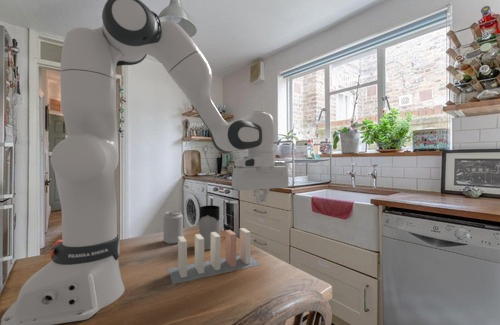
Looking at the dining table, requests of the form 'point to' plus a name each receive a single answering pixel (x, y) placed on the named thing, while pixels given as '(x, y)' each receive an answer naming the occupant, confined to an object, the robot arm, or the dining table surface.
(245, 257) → the domino
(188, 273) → the mat
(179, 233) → the can
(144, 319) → the dining table surface
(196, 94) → the robot arm
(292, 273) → the dining table surface
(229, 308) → the dining table surface
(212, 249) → the domino
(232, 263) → the domino
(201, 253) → the domino
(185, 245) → the domino
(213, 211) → the grey mug
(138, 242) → the dining table surface
